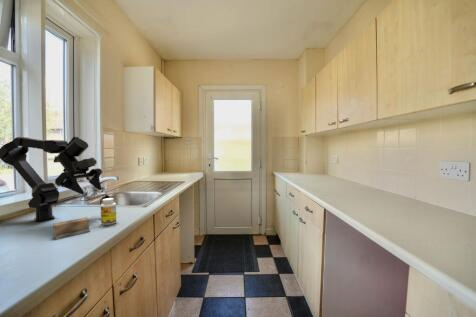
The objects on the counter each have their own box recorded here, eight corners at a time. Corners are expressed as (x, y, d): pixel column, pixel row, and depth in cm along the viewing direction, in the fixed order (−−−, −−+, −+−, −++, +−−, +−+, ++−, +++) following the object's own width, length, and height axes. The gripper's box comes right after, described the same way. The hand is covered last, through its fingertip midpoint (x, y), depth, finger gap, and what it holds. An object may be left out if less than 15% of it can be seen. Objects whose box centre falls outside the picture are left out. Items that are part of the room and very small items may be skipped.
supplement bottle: (98, 224, 93) (97, 200, 92) (109, 220, 98) (108, 197, 97) (108, 225, 91) (107, 200, 90) (119, 221, 96) (118, 197, 96)
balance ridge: (55, 239, 78) (55, 226, 77) (53, 235, 82) (53, 222, 81) (89, 231, 85) (89, 219, 84) (86, 228, 89) (86, 216, 88)
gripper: (61, 151, 86) (85, 182, 85) (99, 151, 105) (120, 176, 103) (44, 170, 88) (67, 201, 87) (84, 166, 106) (104, 191, 105)
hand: (92, 191), depth 95 cm, fingers open, 9 cm apart
